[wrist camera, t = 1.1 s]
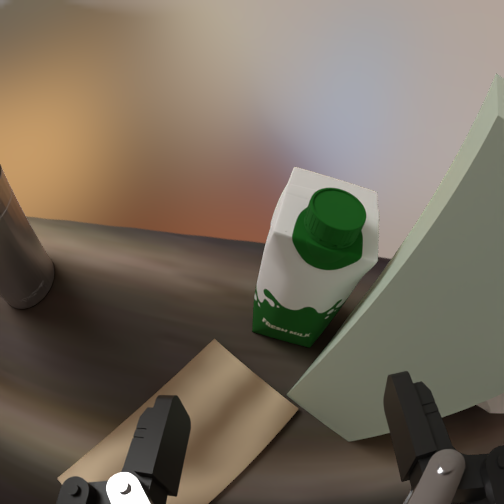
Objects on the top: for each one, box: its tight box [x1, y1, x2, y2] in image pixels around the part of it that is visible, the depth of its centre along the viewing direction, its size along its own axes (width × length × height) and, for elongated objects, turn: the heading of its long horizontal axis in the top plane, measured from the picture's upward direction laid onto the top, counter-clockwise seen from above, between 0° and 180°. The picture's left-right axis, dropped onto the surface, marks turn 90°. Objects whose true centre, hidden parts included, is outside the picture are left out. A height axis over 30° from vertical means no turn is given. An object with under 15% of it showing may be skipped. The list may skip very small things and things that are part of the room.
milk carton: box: [252, 167, 379, 348], centre depth 30 cm, size 9×9×20 cm
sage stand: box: [287, 74, 504, 442], centre depth 21 cm, size 9×13×32 cm
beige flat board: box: [57, 339, 298, 504], centre depth 26 cm, size 12×25×1 cm, turn 139°
